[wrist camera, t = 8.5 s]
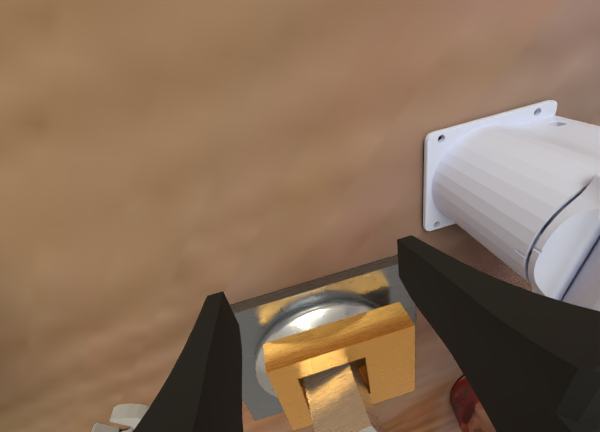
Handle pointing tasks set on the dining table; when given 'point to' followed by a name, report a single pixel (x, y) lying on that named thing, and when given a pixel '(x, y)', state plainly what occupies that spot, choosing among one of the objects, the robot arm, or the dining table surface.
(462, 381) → the brown ceramic rounded pot
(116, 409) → the adjustable wrench
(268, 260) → the dining table surface
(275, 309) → the bracket rosette
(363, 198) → the dining table surface
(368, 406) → the rectangular block
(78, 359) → the dining table surface
